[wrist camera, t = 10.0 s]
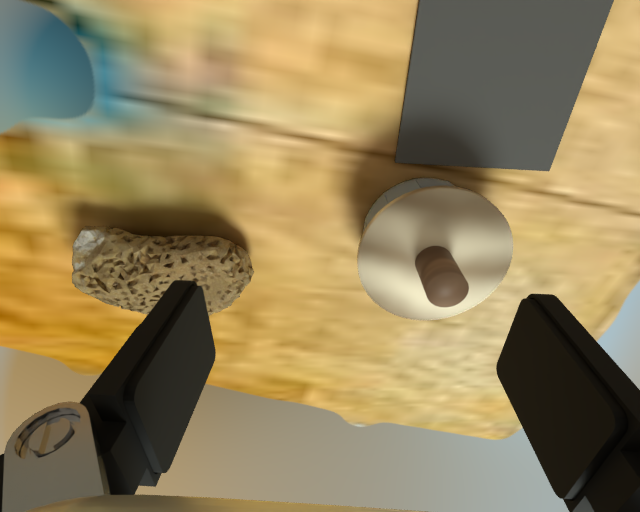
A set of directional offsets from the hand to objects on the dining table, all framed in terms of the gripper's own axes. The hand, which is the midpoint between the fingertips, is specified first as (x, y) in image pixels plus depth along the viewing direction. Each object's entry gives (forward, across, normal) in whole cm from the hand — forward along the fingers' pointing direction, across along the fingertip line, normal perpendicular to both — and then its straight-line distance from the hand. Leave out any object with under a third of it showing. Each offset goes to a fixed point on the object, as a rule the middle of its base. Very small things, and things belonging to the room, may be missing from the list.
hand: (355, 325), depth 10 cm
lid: (+23, -9, +11) cm, 27 cm away
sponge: (+29, +21, +16) cm, 39 cm away
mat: (+29, -14, -5) cm, 32 cm away
